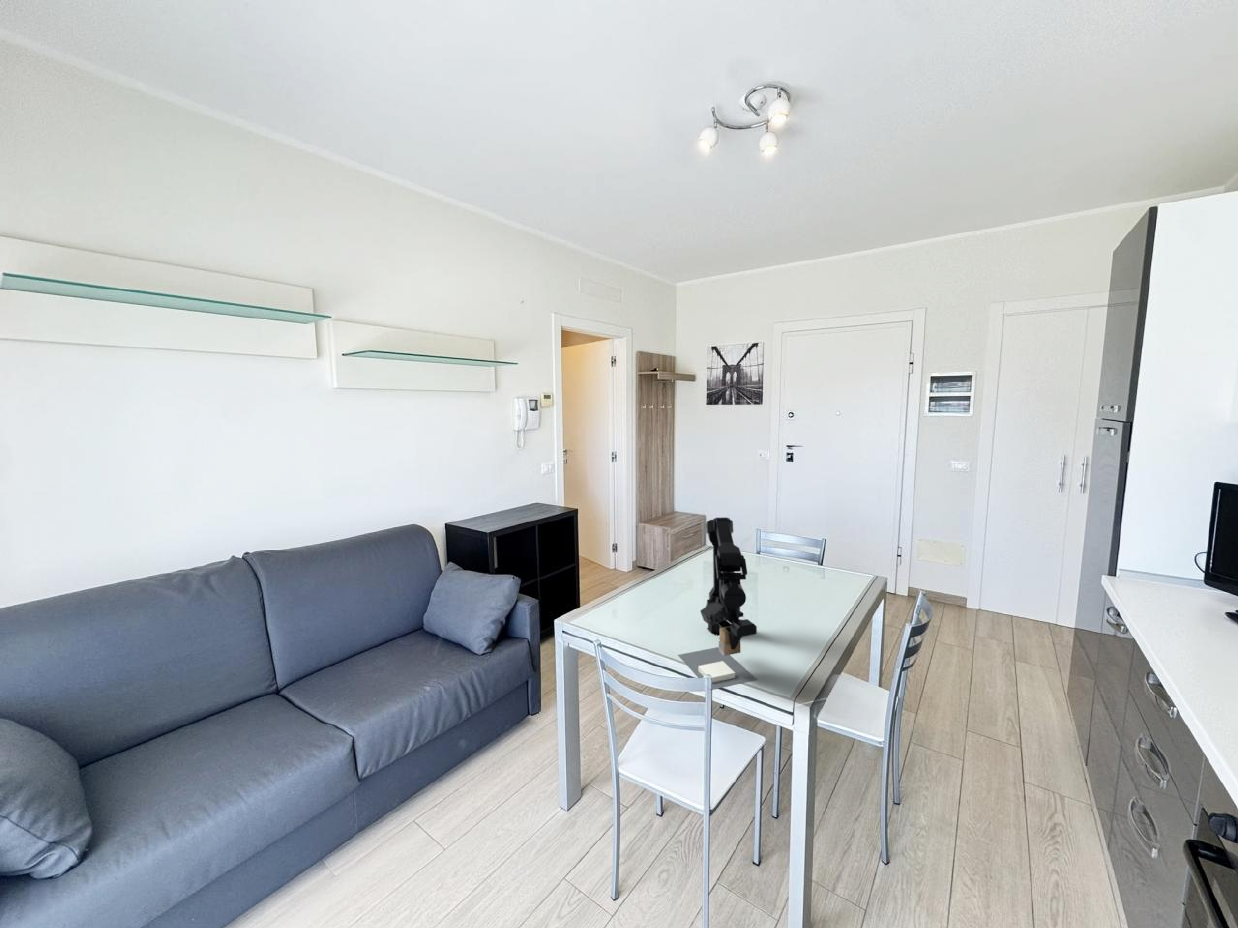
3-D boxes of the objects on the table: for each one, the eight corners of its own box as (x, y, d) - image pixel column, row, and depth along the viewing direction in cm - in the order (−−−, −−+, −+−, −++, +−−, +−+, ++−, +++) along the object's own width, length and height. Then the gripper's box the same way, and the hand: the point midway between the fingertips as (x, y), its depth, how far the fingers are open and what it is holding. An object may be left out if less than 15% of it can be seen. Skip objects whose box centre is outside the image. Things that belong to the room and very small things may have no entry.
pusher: (734, 647, 146) (734, 625, 145) (740, 652, 143) (740, 629, 142) (718, 651, 144) (718, 628, 144) (724, 655, 141) (723, 632, 141)
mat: (720, 647, 160) (720, 646, 160) (757, 680, 140) (757, 679, 140) (677, 656, 155) (677, 654, 155) (709, 691, 135) (709, 690, 135)
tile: (722, 661, 147) (698, 666, 145) (735, 672, 141) (709, 677, 138) (722, 665, 148) (698, 671, 145) (735, 677, 141) (709, 683, 139)
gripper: (689, 587, 148) (690, 637, 150) (721, 610, 131) (721, 667, 132) (722, 582, 152) (723, 631, 153) (757, 604, 134) (758, 659, 136)
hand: (730, 646), depth 144 cm, fingers closed on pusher, 3 cm apart
